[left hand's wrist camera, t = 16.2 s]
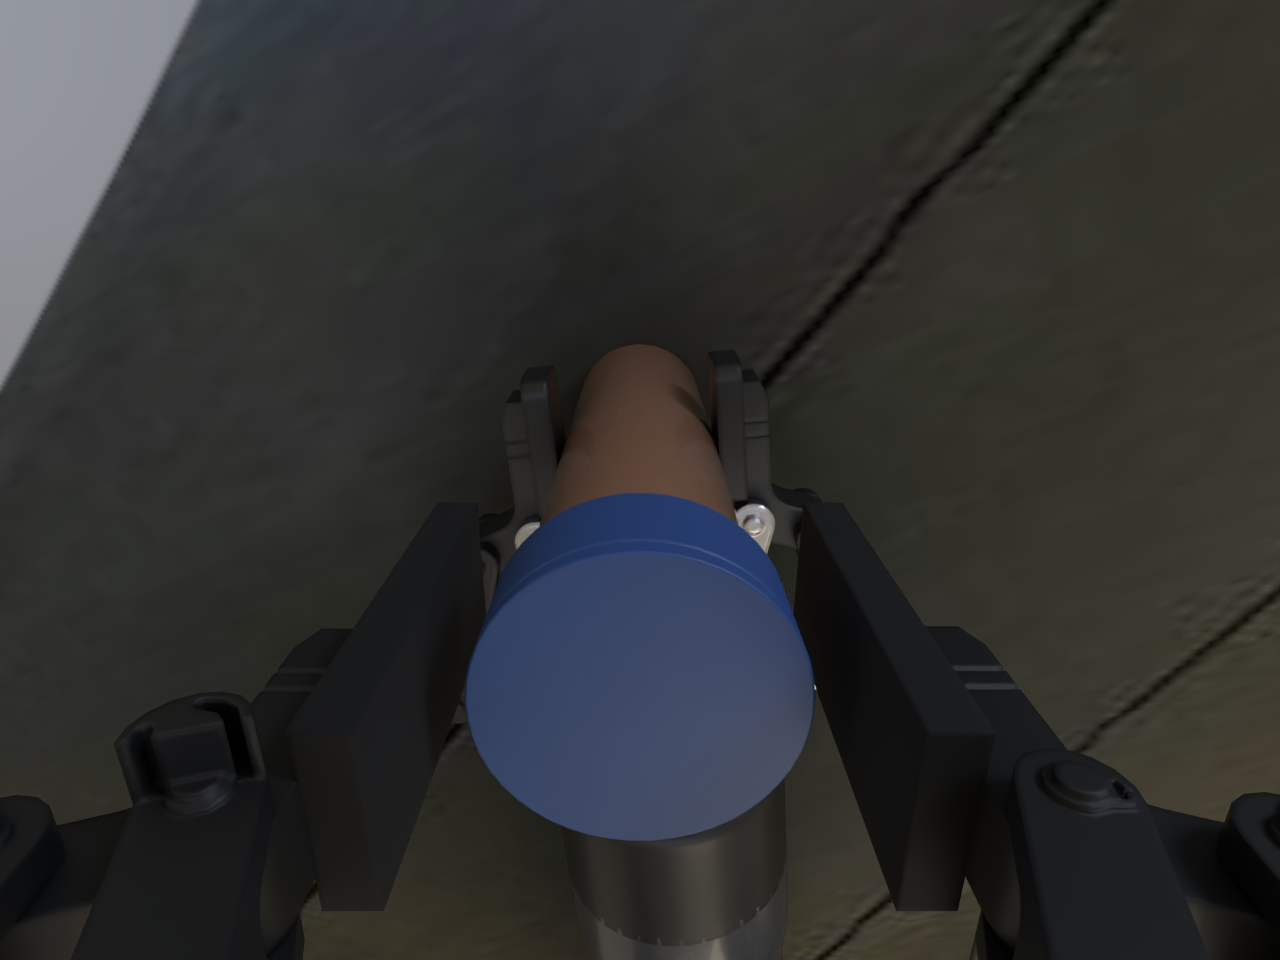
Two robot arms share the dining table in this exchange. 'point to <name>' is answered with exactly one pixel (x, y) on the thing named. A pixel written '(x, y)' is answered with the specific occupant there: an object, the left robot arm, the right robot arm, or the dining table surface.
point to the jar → (639, 436)
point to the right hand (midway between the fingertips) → (629, 367)
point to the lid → (639, 671)
